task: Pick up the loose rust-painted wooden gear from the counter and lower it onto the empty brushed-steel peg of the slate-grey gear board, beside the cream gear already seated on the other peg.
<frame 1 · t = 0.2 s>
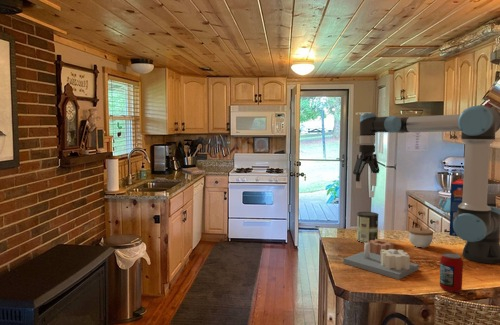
hand: (366, 187, 189), 27 cm above the worktop, fingers open, 13 cm apart
lidded jar: (420, 246, 182), on the worktop
beverage can: (450, 289, 130), on the worktop
gear board: (380, 266, 153), on the worktop
pasta box: (461, 231, 211), on the worktop
cream gear: (394, 265, 148), resting on gear board
coffee can: (367, 241, 191), on the worktop
rust gear: (380, 253, 170), on the worktop
teapot: (453, 212, 267), on the worktop
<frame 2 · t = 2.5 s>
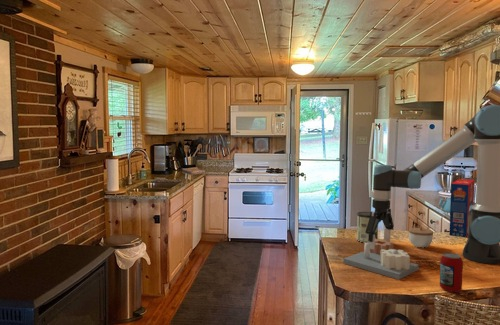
hand: (379, 246, 170), 3 cm above the worktop, fingers open, 13 cm apart
nothing on the worktop moved.
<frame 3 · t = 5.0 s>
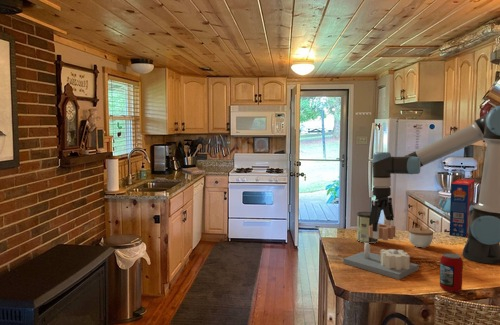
hand: (381, 236, 169), 8 cm above the worktop, fingers closed on rust gear, 10 cm apart
rust gear: (382, 237, 169), point 8 cm above the worktop, touching gripper
everything else where it was.
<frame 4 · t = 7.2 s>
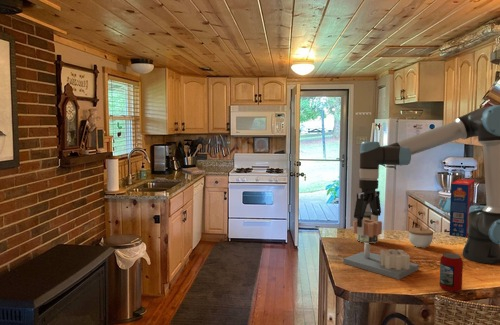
hand: (367, 232, 157), 13 cm above the worktop, fingers closed on rust gear, 10 cm apart
rust gear: (367, 233, 157), point 12 cm above the worktop, touching gripper
everything else where it was.
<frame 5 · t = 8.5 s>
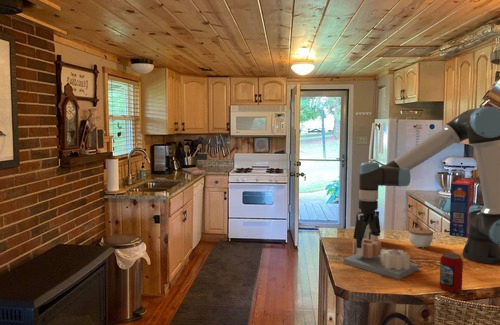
hand: (366, 253, 157), 4 cm above the worktop, fingers closed on rust gear, 10 cm apart
rust gear: (366, 253, 157), point 4 cm above the worktop, touching gripper
everything else where it was.
when the fingers open (3 cm above the worktop, at t = 9.7 s): rust gear stays where it is, resting on gear board.
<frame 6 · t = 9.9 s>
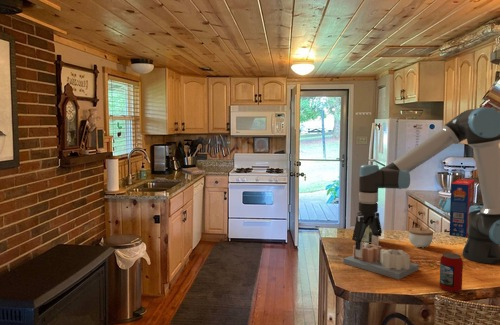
hand: (367, 254, 157), 4 cm above the worktop, fingers open, 11 cm apart
rust gear: (366, 258, 157), point 2 cm above the worktop, touching gear board
everything else where it was.
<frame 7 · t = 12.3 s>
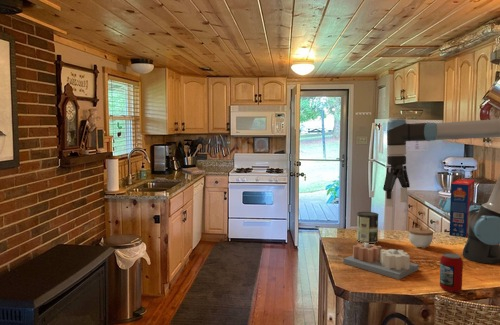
hand: (397, 204, 164), 23 cm above the worktop, fingers open, 13 cm apart
nothing on the worktop moved.
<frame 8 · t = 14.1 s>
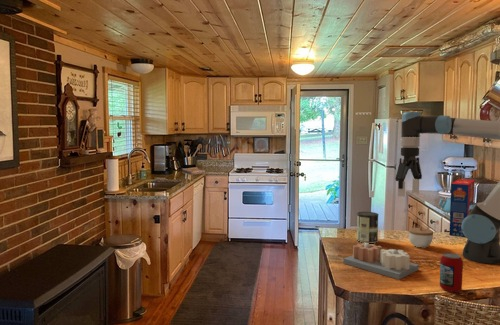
hand: (408, 194, 168), 27 cm above the worktop, fingers open, 13 cm apart
nothing on the worktop moved.
at the end: rust gear 0.0 cm from the target spot on the gear board, point 2.0 cm above the gear board's base; rust gear tilted 0°; the gripper is holding nothing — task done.
